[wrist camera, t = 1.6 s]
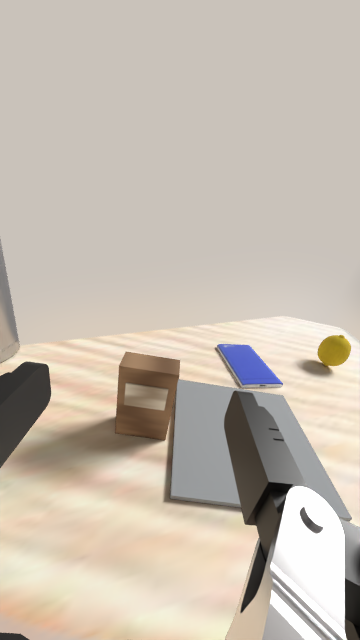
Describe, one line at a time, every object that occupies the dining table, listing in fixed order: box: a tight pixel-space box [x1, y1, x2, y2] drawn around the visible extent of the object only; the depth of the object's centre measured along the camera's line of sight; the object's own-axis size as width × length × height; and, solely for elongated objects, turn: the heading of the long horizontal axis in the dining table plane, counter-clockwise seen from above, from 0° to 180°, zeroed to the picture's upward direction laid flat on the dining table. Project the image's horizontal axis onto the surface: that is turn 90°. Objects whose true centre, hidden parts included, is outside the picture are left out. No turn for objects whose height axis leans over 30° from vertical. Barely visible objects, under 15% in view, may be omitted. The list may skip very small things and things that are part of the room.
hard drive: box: [217, 344, 283, 388], centre depth 42 cm, size 2×8×12 cm
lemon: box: [318, 335, 351, 366], centre depth 46 cm, size 6×6×8 cm
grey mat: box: [170, 379, 352, 521], centre depth 27 cm, size 18×16×1 cm
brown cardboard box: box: [115, 352, 180, 440], centre depth 24 cm, size 6×3×10 cm, turn 88°
